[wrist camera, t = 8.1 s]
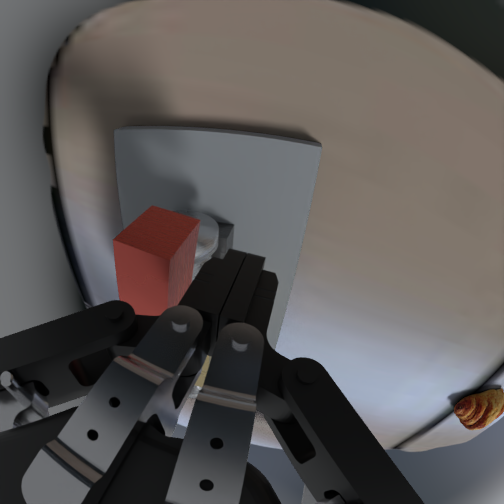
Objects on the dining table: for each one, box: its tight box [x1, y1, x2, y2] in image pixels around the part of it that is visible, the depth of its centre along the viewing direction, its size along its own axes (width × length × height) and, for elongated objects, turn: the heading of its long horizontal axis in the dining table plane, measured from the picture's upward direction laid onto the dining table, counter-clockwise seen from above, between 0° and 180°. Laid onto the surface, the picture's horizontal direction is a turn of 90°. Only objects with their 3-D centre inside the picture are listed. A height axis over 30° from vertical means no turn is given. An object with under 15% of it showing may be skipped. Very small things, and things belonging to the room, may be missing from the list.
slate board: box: [114, 126, 322, 350], centre depth 25 cm, size 28×15×2 cm, turn 174°
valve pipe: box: [173, 210, 234, 398], centre depth 21 cm, size 18×6×8 cm, turn 174°
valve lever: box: [113, 205, 201, 316], centre depth 13 cm, size 14×3×3 cm, turn 166°
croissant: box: [454, 389, 504, 430], centre depth 28 cm, size 21×10×8 cm, turn 73°
